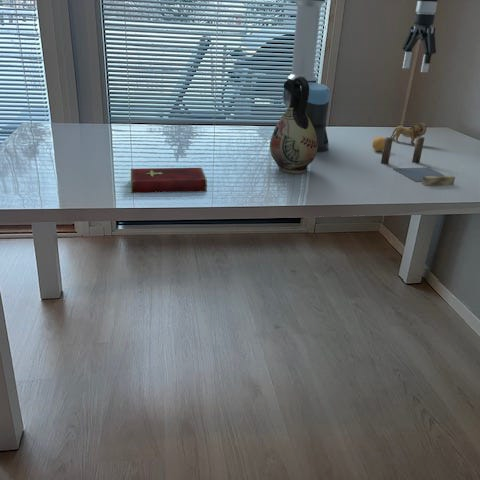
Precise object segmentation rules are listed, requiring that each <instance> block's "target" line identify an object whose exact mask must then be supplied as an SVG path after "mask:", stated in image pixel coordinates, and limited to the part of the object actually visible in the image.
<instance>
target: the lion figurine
mask: <svg viewBox="0 0 480 480" xmlns="http://www.w3.org/2000/svg"><path fill="white" fill-rule="evenodd" d="M427 127H428V125H427V124H426V123H424V122H422V123H418V124H417V125H413V126H412V127H409V128H408V127H405V126H402V125H398V126H396V127H395V128H394V129H393V132H392V134H391V136H389V137H390V138H393V141H392V142H396V144H400V141H399V137H400V136H401V135H402V136H404V137H406V138H410V139H411V140H410V146H414V147H415V141H416V139H417V137H422V136H425V134H426V132H427Z"/></svg>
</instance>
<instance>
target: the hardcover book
mask: <svg viewBox="0 0 480 480" xmlns="http://www.w3.org/2000/svg"><path fill="white" fill-rule="evenodd" d="M130 188H131V189H130V190H131V194H146V193H147V194H149V193H151V194H152V193H183V192H184V193H186V192H187V193H189V192H191V193H192V192H207V190H208V180H207V177H206V175H205V172H204V169H203V167H157V168H156V167H155V168H153V167H151V168H142V167H141V168H130Z"/></svg>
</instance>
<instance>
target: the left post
mask: <svg viewBox="0 0 480 480" xmlns="http://www.w3.org/2000/svg"><path fill="white" fill-rule="evenodd" d="M390 137H391V136H389V137H384V138H385V142H384V148H383V151H382V154H381V159H380V160H381V161H380V164H382V165H389V163H390V155H391V151H392V145H393V142H394V141H393V137H392V138H390Z"/></svg>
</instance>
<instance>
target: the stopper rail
mask: <svg viewBox="0 0 480 480" xmlns="http://www.w3.org/2000/svg"><path fill="white" fill-rule="evenodd" d="M444 175H445V174H444ZM455 179H456V177H455V176H453V175H451V174H448V175H445V176H424V177H423V182H421V184H422V185H423V186H425V187H428V186H429V187H430V186H431V187H433V186H435V187H436V186H454V184H455V181H456V180H455Z"/></svg>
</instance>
